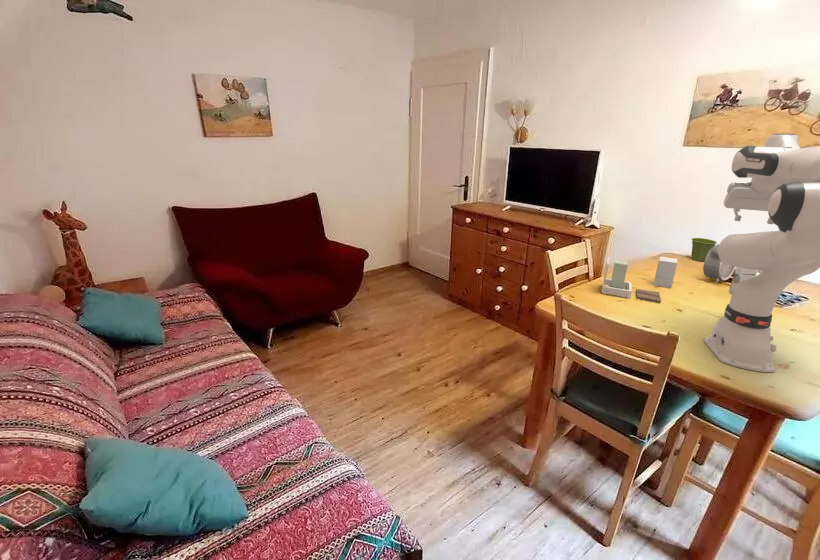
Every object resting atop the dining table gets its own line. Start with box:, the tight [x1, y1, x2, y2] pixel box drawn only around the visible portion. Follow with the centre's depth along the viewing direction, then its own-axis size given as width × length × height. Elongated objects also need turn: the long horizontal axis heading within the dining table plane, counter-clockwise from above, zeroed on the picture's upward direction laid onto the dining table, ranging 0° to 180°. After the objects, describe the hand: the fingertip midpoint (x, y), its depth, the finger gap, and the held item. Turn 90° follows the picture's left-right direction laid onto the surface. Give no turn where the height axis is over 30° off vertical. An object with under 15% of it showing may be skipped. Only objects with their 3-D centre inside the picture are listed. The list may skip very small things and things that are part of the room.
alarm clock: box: [702, 243, 736, 284], centre depth 196 cm, size 16×9×22 cm, turn 120°
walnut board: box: [635, 288, 662, 304], centre depth 180 cm, size 11×9×1 cm
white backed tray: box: [601, 256, 633, 299], centre depth 183 cm, size 12×12×14 cm
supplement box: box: [653, 256, 678, 289], centre depth 192 cm, size 7×7×13 cm
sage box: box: [610, 259, 629, 289], centre depth 183 cm, size 5×5×14 cm
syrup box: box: [728, 267, 758, 294], centre depth 181 cm, size 6×6×14 cm
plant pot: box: [690, 237, 718, 263], centre depth 228 cm, size 12×12×11 cm
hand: (753, 222), depth 145 cm, fingers open, 8 cm apart
